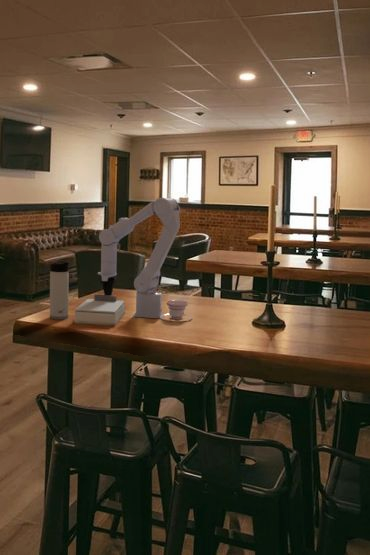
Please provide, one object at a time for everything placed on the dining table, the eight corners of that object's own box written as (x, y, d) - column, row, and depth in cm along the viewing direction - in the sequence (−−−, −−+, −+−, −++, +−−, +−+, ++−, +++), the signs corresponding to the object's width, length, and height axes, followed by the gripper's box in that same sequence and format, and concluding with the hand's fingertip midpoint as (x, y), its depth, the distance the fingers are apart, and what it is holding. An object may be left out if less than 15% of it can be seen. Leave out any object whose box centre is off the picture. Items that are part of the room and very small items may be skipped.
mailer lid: (124, 302, 197) (124, 295, 197) (115, 313, 179) (115, 306, 179) (88, 300, 198) (88, 293, 197) (74, 310, 180) (75, 303, 179)
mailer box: (124, 313, 198) (124, 303, 197) (115, 325, 180) (115, 313, 179) (87, 311, 198) (87, 300, 198) (74, 323, 181) (74, 311, 180)
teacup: (188, 324, 187) (189, 307, 186) (155, 321, 189) (156, 304, 188) (195, 316, 199) (195, 300, 198) (163, 313, 201) (164, 297, 200)
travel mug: (64, 320, 183) (65, 263, 180) (46, 318, 185) (47, 261, 181) (71, 316, 189) (72, 261, 186) (54, 314, 191) (55, 259, 187)
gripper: (102, 258, 205) (101, 292, 208) (93, 263, 191) (93, 300, 193) (120, 259, 205) (119, 293, 207) (113, 264, 191) (112, 301, 193)
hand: (108, 296), depth 200 cm, fingers closed
